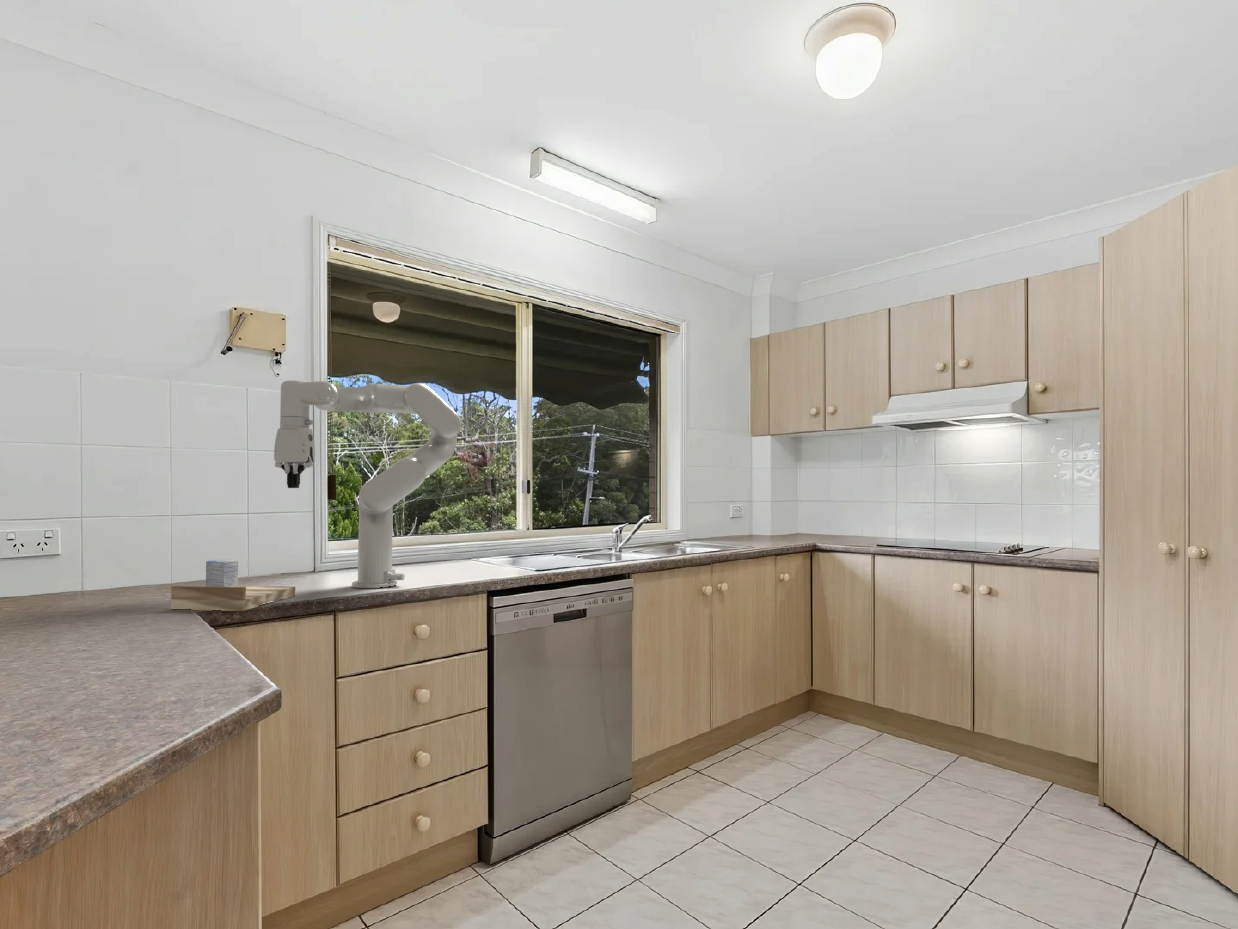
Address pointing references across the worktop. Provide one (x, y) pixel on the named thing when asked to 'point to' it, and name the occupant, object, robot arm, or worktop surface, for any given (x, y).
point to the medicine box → (221, 573)
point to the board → (226, 597)
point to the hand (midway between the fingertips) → (293, 487)
